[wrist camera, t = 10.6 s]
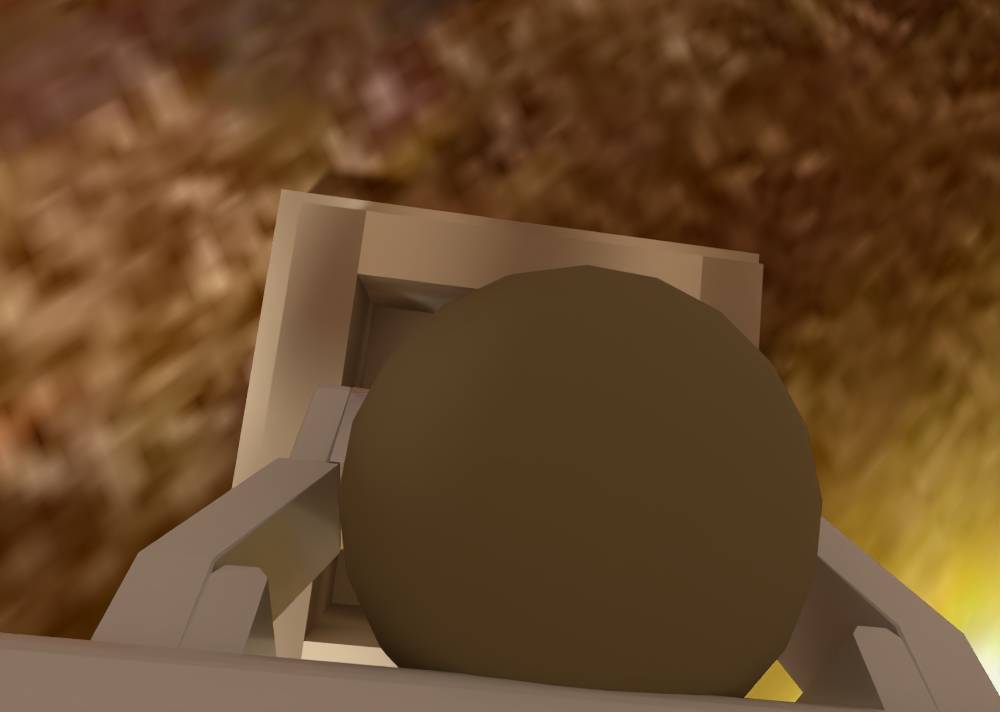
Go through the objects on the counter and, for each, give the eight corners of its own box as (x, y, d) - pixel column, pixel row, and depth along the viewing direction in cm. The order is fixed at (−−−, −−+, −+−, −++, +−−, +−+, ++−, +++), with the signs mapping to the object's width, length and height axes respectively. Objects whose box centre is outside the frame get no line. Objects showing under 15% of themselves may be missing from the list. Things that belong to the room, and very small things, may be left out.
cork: (577, 322, 17) (802, 111, 7) (653, 549, 17) (1040, 734, 6) (351, 390, 17) (179, 281, 6) (420, 630, 16) (373, 1010, 5)
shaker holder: (214, 692, 18) (129, 783, 13) (293, 208, 20) (245, 131, 15) (708, 735, 19) (800, 834, 14) (737, 267, 21) (825, 212, 16)
